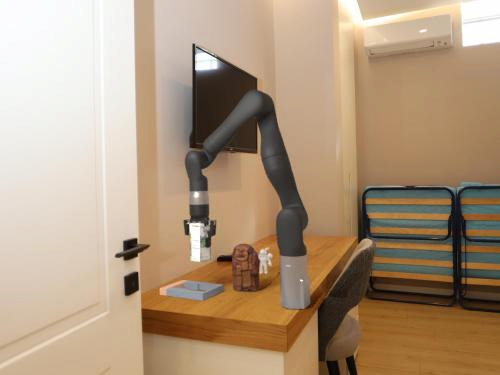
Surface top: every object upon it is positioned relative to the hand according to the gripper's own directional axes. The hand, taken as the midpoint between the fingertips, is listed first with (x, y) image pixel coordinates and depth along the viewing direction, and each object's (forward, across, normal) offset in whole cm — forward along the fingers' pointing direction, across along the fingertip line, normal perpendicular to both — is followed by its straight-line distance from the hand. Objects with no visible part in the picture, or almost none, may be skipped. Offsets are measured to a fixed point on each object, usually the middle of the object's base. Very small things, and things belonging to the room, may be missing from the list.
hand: (200, 246), depth 150 cm
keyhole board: (+18, +5, 0) cm, 19 cm away
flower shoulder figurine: (+18, -6, -40) cm, 44 cm away
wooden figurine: (+18, -12, -12) cm, 25 cm away
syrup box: (+5, 0, 0) cm, 5 cm away
